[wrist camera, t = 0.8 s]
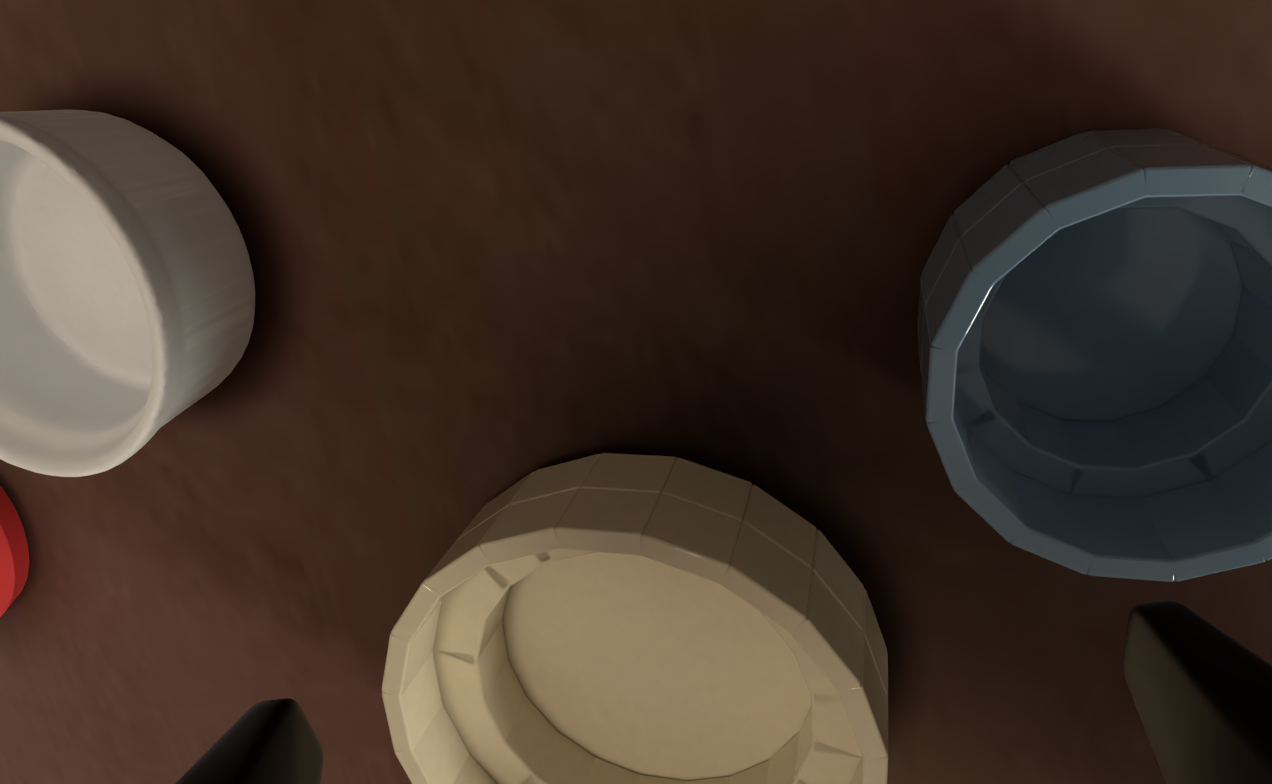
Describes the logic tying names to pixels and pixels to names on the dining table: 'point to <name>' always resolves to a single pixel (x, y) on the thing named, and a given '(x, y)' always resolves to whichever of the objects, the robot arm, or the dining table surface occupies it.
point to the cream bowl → (638, 639)
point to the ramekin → (109, 289)
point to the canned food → (11, 553)
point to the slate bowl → (1109, 354)
